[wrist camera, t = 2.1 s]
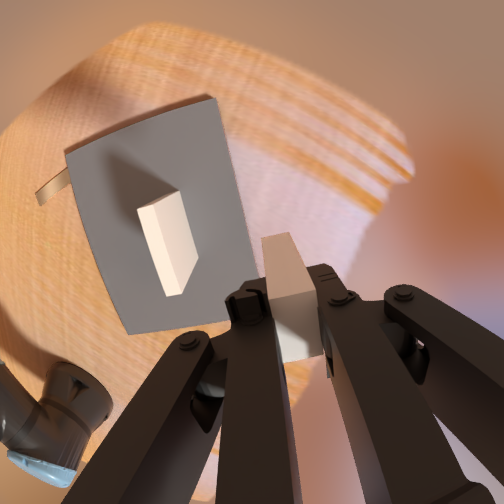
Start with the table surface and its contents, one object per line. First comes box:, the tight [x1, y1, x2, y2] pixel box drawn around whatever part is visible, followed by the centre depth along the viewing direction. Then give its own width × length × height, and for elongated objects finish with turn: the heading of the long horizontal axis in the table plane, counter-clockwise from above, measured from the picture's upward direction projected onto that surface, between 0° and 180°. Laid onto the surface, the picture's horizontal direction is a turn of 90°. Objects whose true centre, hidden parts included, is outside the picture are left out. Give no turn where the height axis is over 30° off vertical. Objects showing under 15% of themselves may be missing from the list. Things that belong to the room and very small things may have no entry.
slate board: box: [65, 98, 260, 335], centre depth 31 cm, size 20×26×1 cm
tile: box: [137, 191, 199, 297], centre depth 27 cm, size 2×8×9 cm, turn 13°
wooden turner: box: [35, 168, 71, 206], centre depth 29 cm, size 20×6×1 cm, turn 112°
